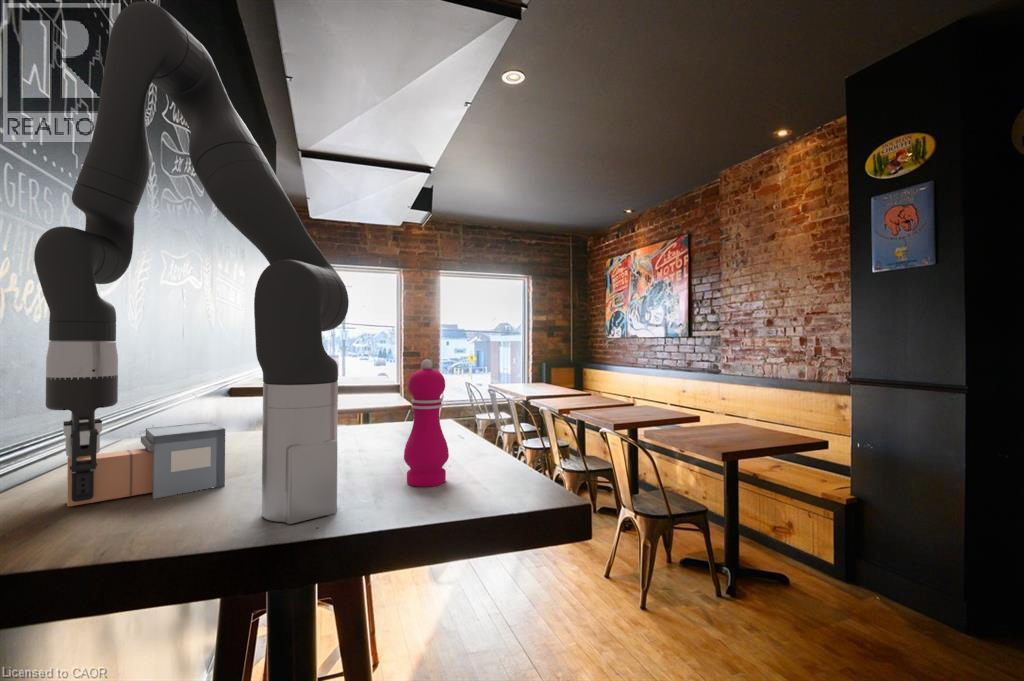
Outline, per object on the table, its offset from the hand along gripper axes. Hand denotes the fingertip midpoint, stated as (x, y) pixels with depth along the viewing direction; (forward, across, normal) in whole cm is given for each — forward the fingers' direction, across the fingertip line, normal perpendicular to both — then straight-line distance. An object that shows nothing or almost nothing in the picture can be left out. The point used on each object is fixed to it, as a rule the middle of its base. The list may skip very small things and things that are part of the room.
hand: (81, 495), depth 67 cm
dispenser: (+1, 0, -12) cm, 12 cm away
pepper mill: (+1, -24, -41) cm, 48 cm away
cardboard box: (+1, 0, -6) cm, 6 cm away
